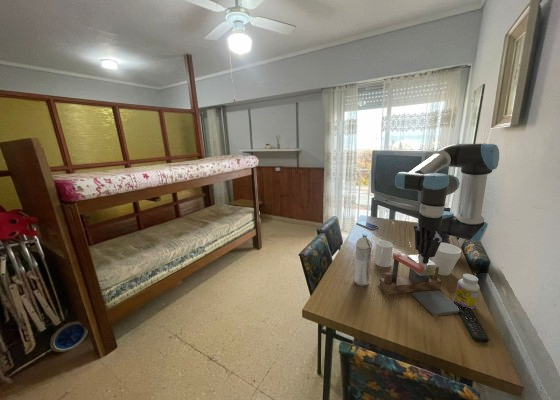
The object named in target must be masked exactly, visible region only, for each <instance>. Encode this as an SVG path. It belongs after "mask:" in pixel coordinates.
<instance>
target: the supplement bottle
mask: <svg viewBox="0 0 560 400" xmlns="http://www.w3.org/2000/svg"><path fill="white" fill-rule="evenodd" d="M478 282H479V278H478V277H477V276H475V275H473V274H471V273H463V274H462V278H460V279H458V281H457V284H456V285H457V287H456V291H455V295H454V302H455V303H456V302H457V303H459V304H462V305H464V306H467V307H469V308H471V309H470V310H472V309H474V308H475V307H476V306H477V301H478V297H479V293H480V285H479V284H478ZM457 303H456V304H457Z"/></svg>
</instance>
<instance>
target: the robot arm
mask: <svg viewBox="0 0 560 400" xmlns="http://www.w3.org/2000/svg"><path fill="white" fill-rule="evenodd" d="M499 161H500V149H499V146H498V145H496V144H495V143H485V142H484V143H453V144H449V145H446V146H444V147H440V148H438V149H437V150H434V151H433V152H432V153H431V154H430V155H429V157H428V158H427V159H426V160H423V162H421V163H419V164H418V165H416V166H415V167H414V168H413V169H411V170H409V171H407V172H406V171H399V172H398V173H396V175H395V178H394V185H395V188H397V189H402V190H405V191H415V192H421V198H420V205H419V210H418V211H419V213H418V216H417V217H418V218H417V223H418V225H414V226H413V229H414V230H413V231H414V243H415V245H414V246H415V250H416V251H417V252H418V254H419V257H418V259H419V263H418V264H419V265H420V266H422V267H424V270H426V268H427V264H428V261H429V260H430V258H432V257H434V256H435V254H436V252H437V250H438V248H439V246H440V243H441V242H442V243H448V244H451V240H450V236H451V237H455V238H459V239H463V240H467V241H468V242H470V241H471V242H474V243H479V242H480V241H481V240H482V239H483V237H484V235H485V233H486V231H487V229H488V226H489V223H488V222H486V221H485V217H484V216H483V215H482V213H483V204H484V198H485V194H486V193H485V191H486V186H487V179H488V175H490V174H492V173H493V171H494V170H496V169H497V168H498V165H499ZM447 167H449V168H460V172H461V174H463V175H464V177H463V183H462V184H463V186H462V193H461V194H462V195H461V204H460V212H459V213H458V214H457V215H456V216H455V215H454V212H451V211H446V210H445V205H446V200H447V196H448V195H451V194H453V193H455V192H456V191H457V190H458V189H459V188H460V183H461V182H460V180H459V179H458V177H457V176H455V175H453V174H446V173H438V171H440V170H441V169H442V170H443V169H445V168H447Z"/></svg>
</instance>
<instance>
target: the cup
mask: <svg viewBox="0 0 560 400" xmlns="http://www.w3.org/2000/svg"><path fill="white" fill-rule="evenodd" d="M461 256H462V249H461V248H460V247H458V246H456V245H455V244H451V243H450V244H448V243H442V242H441V243H440V246H439V248H438V250H437V252H436V254H435V256H434V257H431V261H432V262H434V263H435V264H437V265H436V266H438V267H439V271H438V275H441V276H450V275H451V274H452V273H451V272H452V271H453V269H454V267H455V266H456V264H457V262H458V260H459V259H460V258H461Z"/></svg>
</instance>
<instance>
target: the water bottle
mask: <svg viewBox="0 0 560 400" xmlns="http://www.w3.org/2000/svg"><path fill="white" fill-rule="evenodd" d="M355 245H356V247H355V258H354V259H355V260H354V271H353V272H354V275H353V280H354V282H355V284H357V285H359V286H361V287H362V286H363V287H365V286H368V285H369V283H370V272H371V263H372V261H371V260H372V259H371V257H372V247H373V243H372V241H371V240H370V238H368V235H367V234H366V233H362V237H360V238H358V240H357V241H356V242H355Z"/></svg>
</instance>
